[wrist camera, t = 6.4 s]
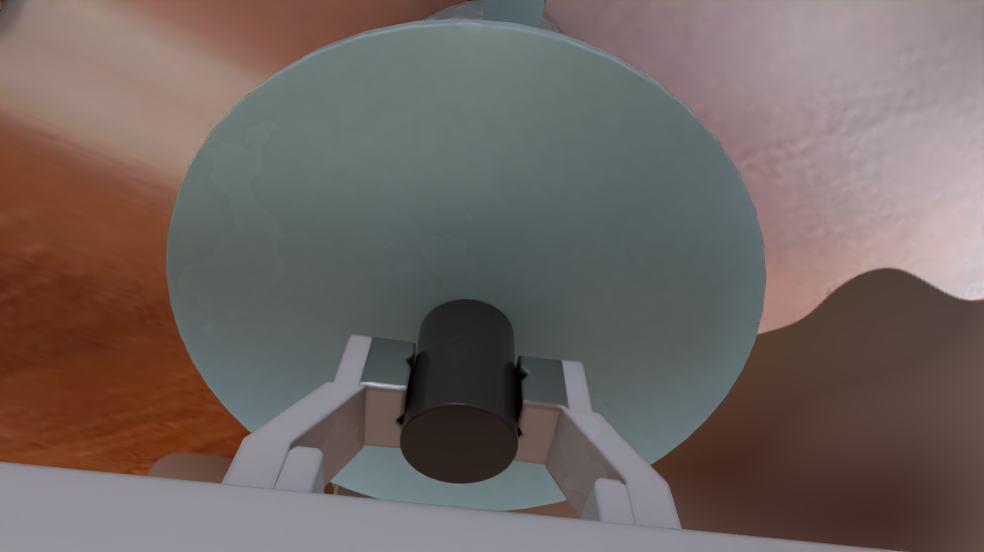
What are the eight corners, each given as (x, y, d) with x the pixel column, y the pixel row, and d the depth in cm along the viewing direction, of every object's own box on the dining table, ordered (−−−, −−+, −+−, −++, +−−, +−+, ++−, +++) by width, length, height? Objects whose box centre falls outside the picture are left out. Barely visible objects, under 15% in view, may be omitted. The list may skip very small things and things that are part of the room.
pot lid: (858, 74, 12) (1039, 154, 8) (649, 500, 20) (687, 647, 16) (136, -45, 11) (-74, -21, 7) (222, 457, 19) (148, 603, 15)
